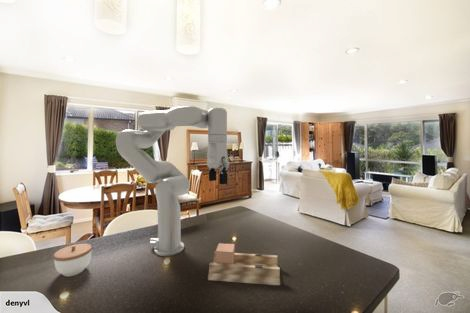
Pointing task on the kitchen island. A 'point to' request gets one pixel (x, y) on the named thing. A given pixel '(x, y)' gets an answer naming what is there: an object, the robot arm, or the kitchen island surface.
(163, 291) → the kitchen island surface
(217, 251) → the block
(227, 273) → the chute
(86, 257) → the lidded jar
